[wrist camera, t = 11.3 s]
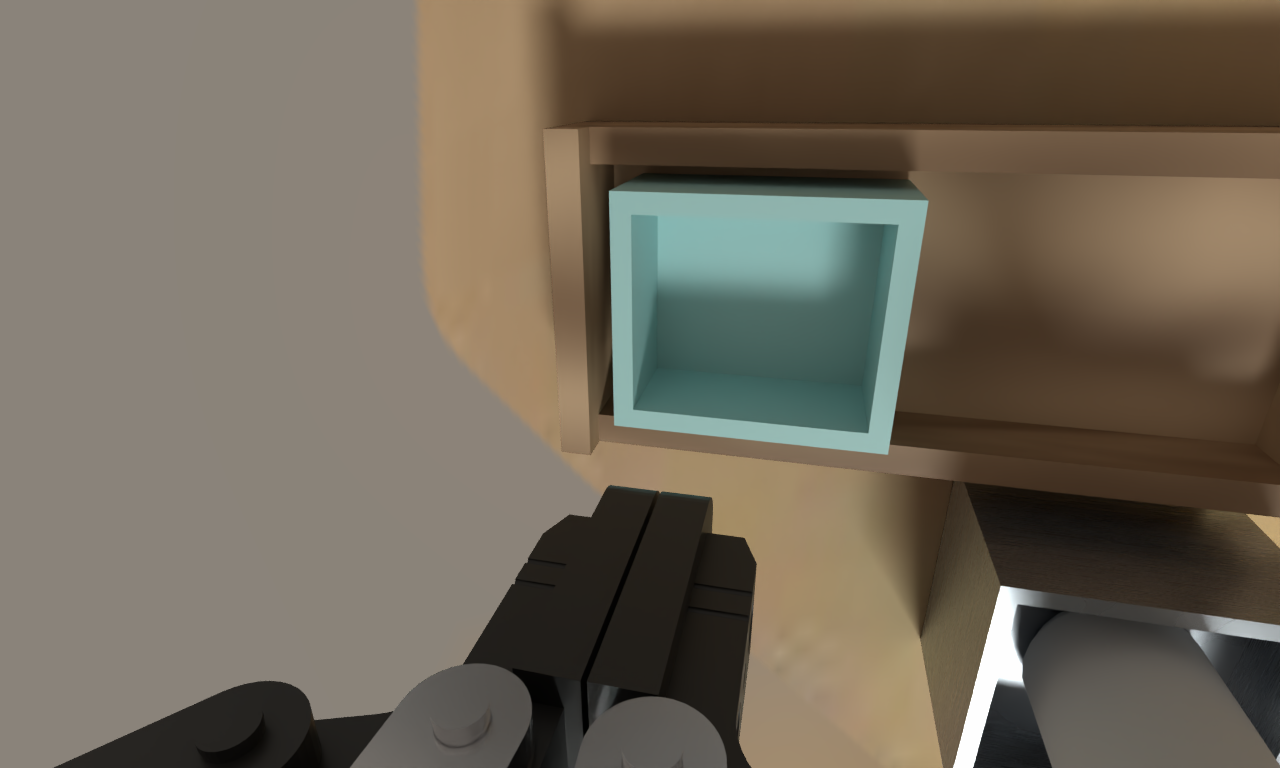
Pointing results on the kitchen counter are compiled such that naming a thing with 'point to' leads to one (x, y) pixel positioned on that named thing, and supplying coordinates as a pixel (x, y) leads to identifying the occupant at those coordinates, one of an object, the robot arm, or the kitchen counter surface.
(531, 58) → the kitchen counter surface
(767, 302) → the box
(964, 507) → the open metal box
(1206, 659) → the beverage can
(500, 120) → the kitchen counter surface
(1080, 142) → the bay
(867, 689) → the kitchen counter surface
